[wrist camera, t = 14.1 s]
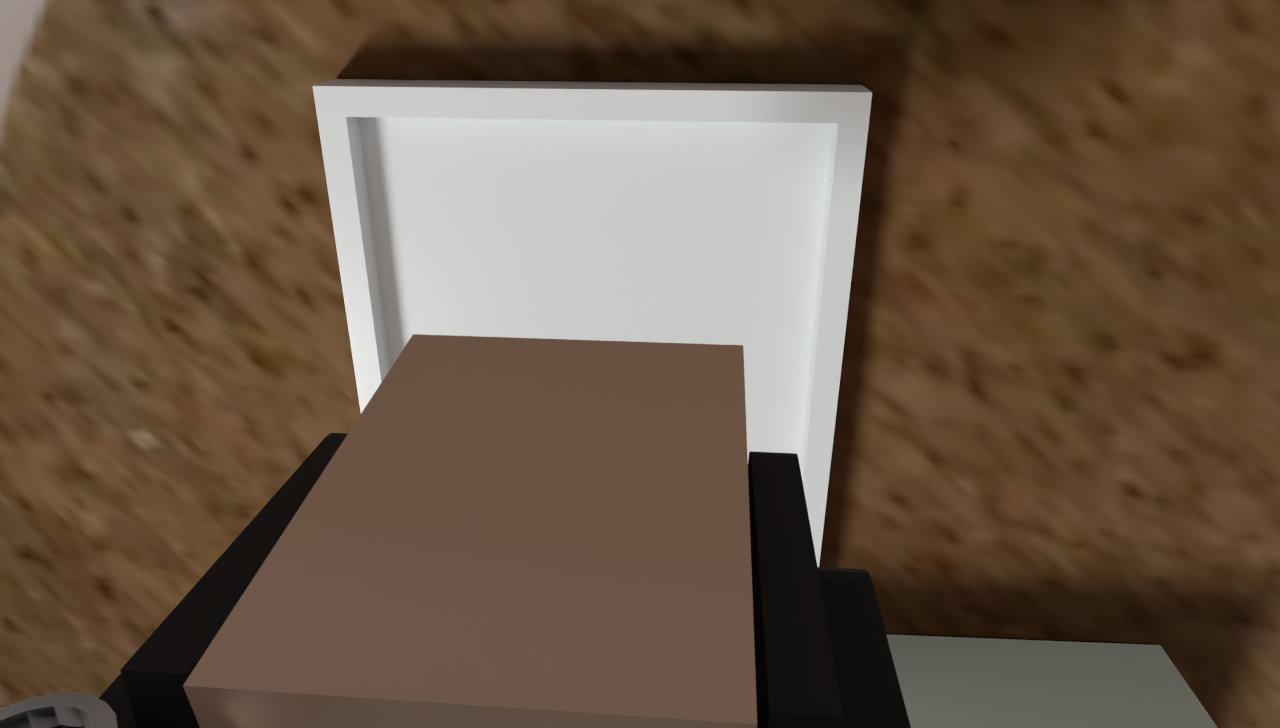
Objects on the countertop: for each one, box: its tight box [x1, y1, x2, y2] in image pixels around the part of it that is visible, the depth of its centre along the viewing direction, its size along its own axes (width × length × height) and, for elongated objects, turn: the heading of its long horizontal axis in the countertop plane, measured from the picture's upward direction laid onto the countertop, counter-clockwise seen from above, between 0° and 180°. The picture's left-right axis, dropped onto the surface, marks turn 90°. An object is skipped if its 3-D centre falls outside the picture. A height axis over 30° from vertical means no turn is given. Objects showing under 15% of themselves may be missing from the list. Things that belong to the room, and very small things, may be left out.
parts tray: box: [313, 79, 872, 567], centre depth 21 cm, size 11×14×1 cm
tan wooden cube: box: [183, 334, 757, 728], centre depth 9 cm, size 4×4×5 cm
